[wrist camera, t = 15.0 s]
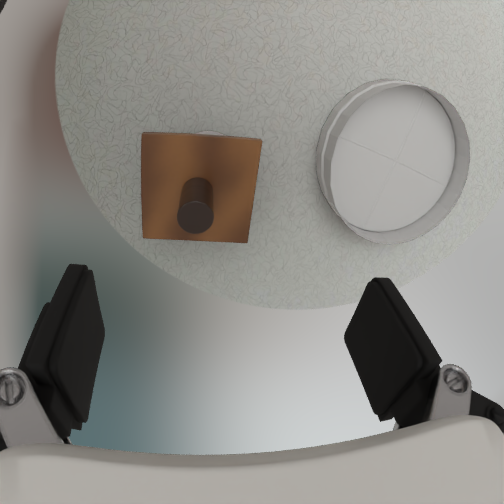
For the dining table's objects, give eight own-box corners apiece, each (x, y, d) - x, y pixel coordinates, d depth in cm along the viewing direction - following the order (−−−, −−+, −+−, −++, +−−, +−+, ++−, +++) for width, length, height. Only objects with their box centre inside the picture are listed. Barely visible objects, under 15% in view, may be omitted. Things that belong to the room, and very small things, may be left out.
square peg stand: (144, 234, 33) (133, 270, 27) (143, 131, 27) (126, 149, 22) (246, 239, 35) (253, 275, 29) (261, 139, 29) (273, 158, 23)
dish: (468, 122, 37) (490, 131, 33) (410, 241, 48) (426, 259, 44) (352, 49, 31) (370, 49, 27) (290, 205, 42) (299, 223, 38)
